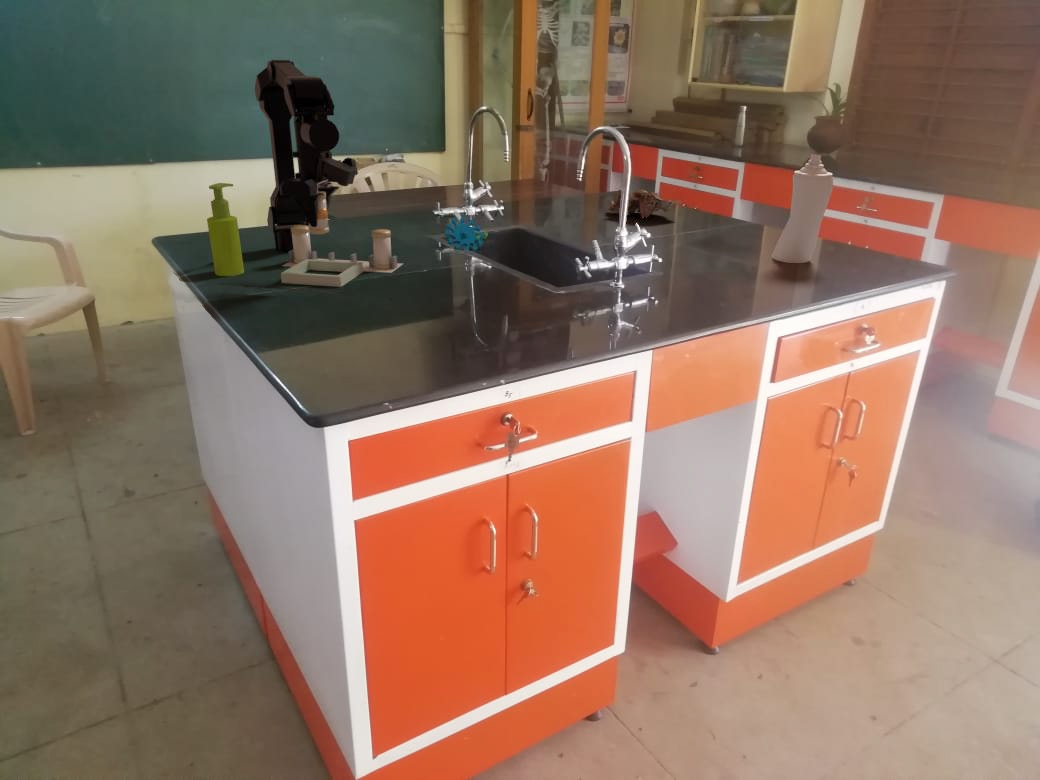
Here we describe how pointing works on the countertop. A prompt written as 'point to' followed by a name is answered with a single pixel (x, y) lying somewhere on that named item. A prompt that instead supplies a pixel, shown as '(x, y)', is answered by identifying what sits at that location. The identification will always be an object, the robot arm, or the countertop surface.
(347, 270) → the tray
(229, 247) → the soap dispenser
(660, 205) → the mineral formation
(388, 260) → the fuse right
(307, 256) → the fuse left
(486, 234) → the gear
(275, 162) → the robot arm
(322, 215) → the fuse marked
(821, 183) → the curved beige bottle
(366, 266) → the fuse holder
